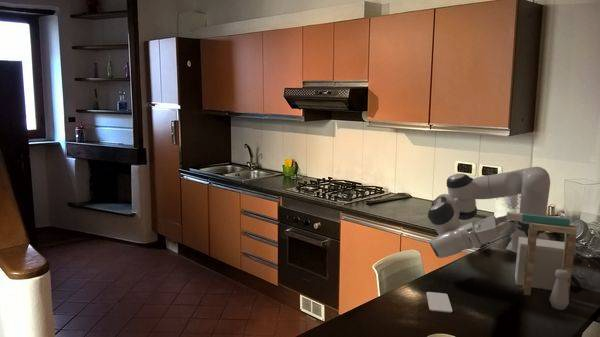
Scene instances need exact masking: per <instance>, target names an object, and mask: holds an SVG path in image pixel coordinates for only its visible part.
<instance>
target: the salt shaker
mask: <svg viewBox="0 0 600 337" xmlns="http://www.w3.org/2000/svg"><path fill="white" fill-rule="evenodd" d="M555 276H556V277H557V278H556V281H555V284H554V287H553V290H551V293H550V295H549V302H550V304H551V307H552V308H554V309H555V310H560V311H564V310H565V309H566V308H567V307H568V305H569V304H570V294H569V295H568V283H567V279H568V278H569V276H570V273H569V272H568V271H566V270H563V269H557V270H556V271H555Z"/></svg>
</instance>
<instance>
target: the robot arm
mask: <svg viewBox="0 0 600 337" xmlns="http://www.w3.org/2000/svg"><path fill="white" fill-rule="evenodd" d="M446 187H447V192H448V193H443V194H439V195H437V197H436V198H435V199H433V200H432V202H431V205H430V206H431V207H430V208H429V210H428V212H427V218H428V220H429V221H430V222H431V224H432V226H433V227H434V229H435V231H436V233H437V234H438V235H436V237H434V238H431V240H429V245H430V247H431V249H432V251H433V253H434V255H435V256H436V257H437V258H438V259H444V258H448V257H452V256H454V255H457V254H459V253H461V252H463V251H464V250H470V249H472V248H473V249H474V248H475V249H478V248H479V249H480V248H481V247H482V245H486V244H487V243H489V242H492V241H494V240H496V239H498V238H499V237H500V236H501V233H500V232H503V231H505V230H506V229H507V228H510V227H511V226H512V223H511V220H507V214H506V215H503V216H497V217H496V215H489V216H487V217H486V218H485V217H484V218H483V219H481V220H479V221H477V222H476V223H474V222H473V221H471V222H468V223H466V224H464V225H462V222H461V221H467V220H471V219H474V218H475V217H476V216H477V213H478V207H477V201H476V200H490V199H491V200H492V199H499V198H508V197H513V196H515V195H516V196H517V195H520V202H519V203H520V205H519V212H518V213H523V214H533V215H542V216H547V212H548V204H549V195H550V188H551V177H550V174H549V172H548V171H547V169H545V168H543V167H541V166H532V167H526V168H521V169H515V170H512V171H507V172H501V173H495V174H488V175H483V176H479V177H475V178H473V177H470V176H469V175H468V174H465V173H454V174H452V175H450V176H448V178H447V179H446ZM529 224H530V222H523V221H516V230H514V232H512V233H511V234H510V241H509V243H508V245H507V246H506V248H505V249H506V251H507V250H508V251H510V252H513V253H515V254H517V249H518V240H519V237H525V238H528V233H529ZM546 232H547V231H540V230H538V231H537V239H542V240H550V239H549V236H548V235H547V234H546Z"/></svg>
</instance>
